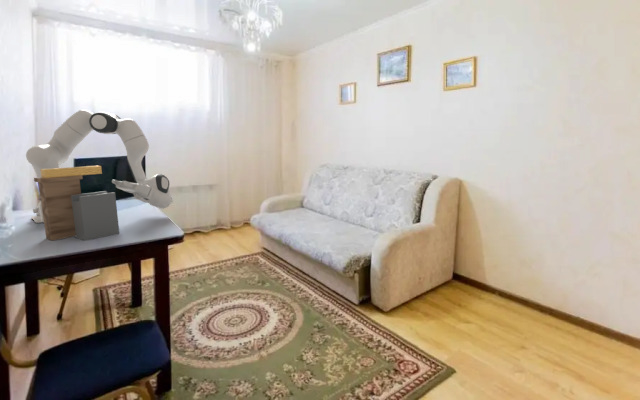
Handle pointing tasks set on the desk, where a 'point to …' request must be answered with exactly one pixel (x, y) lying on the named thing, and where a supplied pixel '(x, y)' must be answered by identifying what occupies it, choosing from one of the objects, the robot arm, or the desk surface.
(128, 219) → the desk surface
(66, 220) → the stand
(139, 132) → the robot arm
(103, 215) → the cradle
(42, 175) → the wooden block
